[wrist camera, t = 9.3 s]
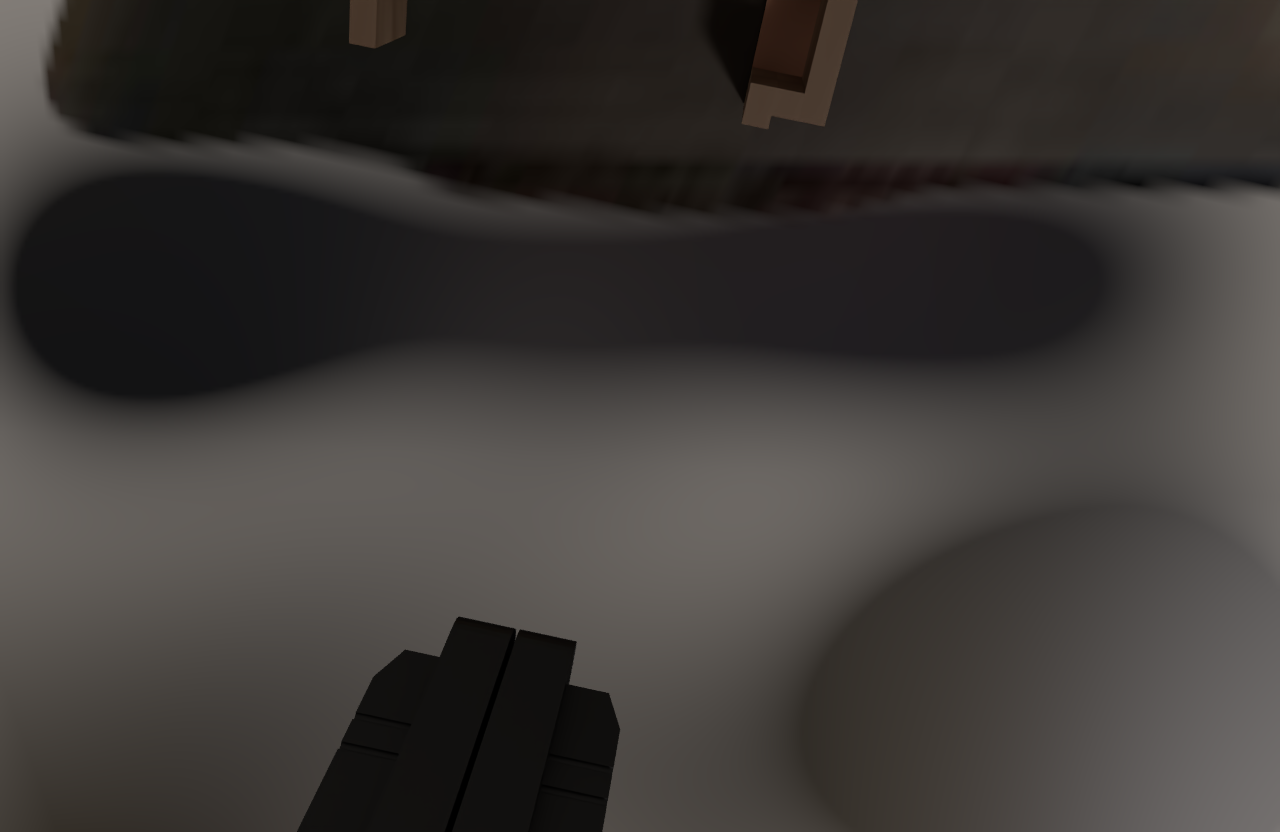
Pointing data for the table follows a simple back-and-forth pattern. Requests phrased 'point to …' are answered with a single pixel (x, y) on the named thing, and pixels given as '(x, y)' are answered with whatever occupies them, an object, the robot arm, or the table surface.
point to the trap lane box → (782, 68)
